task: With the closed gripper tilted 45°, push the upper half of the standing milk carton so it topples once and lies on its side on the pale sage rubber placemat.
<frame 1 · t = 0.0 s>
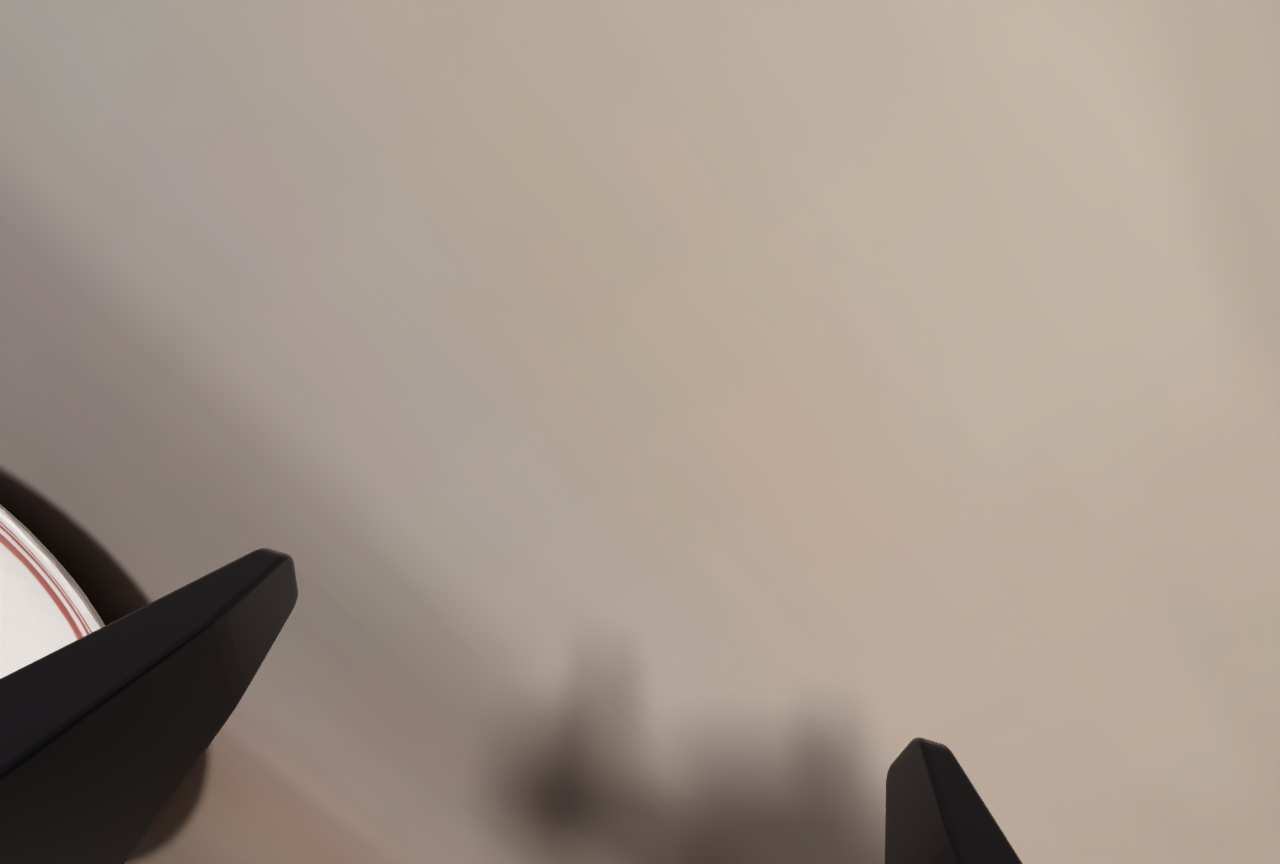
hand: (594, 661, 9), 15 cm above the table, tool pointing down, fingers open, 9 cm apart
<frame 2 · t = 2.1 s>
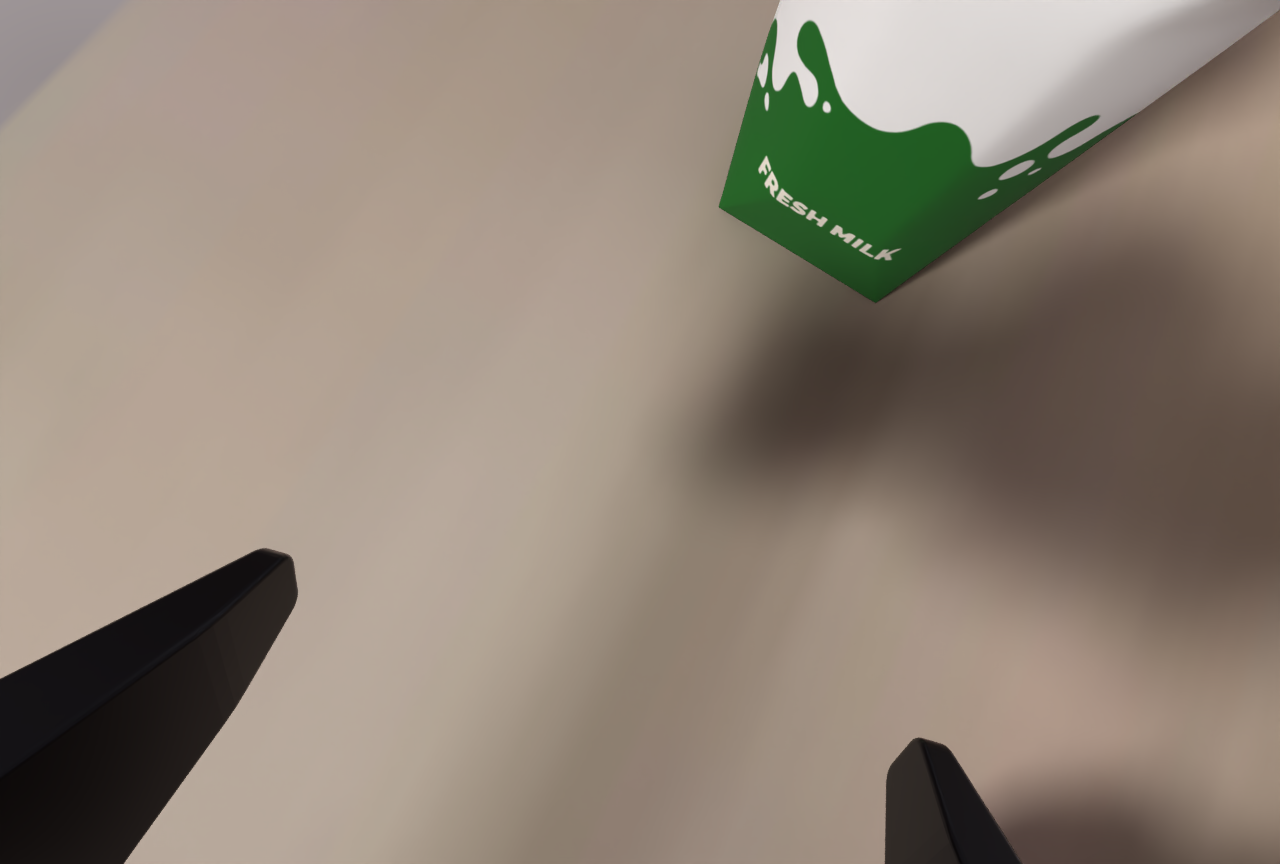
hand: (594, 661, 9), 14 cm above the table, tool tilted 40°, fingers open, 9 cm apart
milk carton: (838, 184, 25), on the table
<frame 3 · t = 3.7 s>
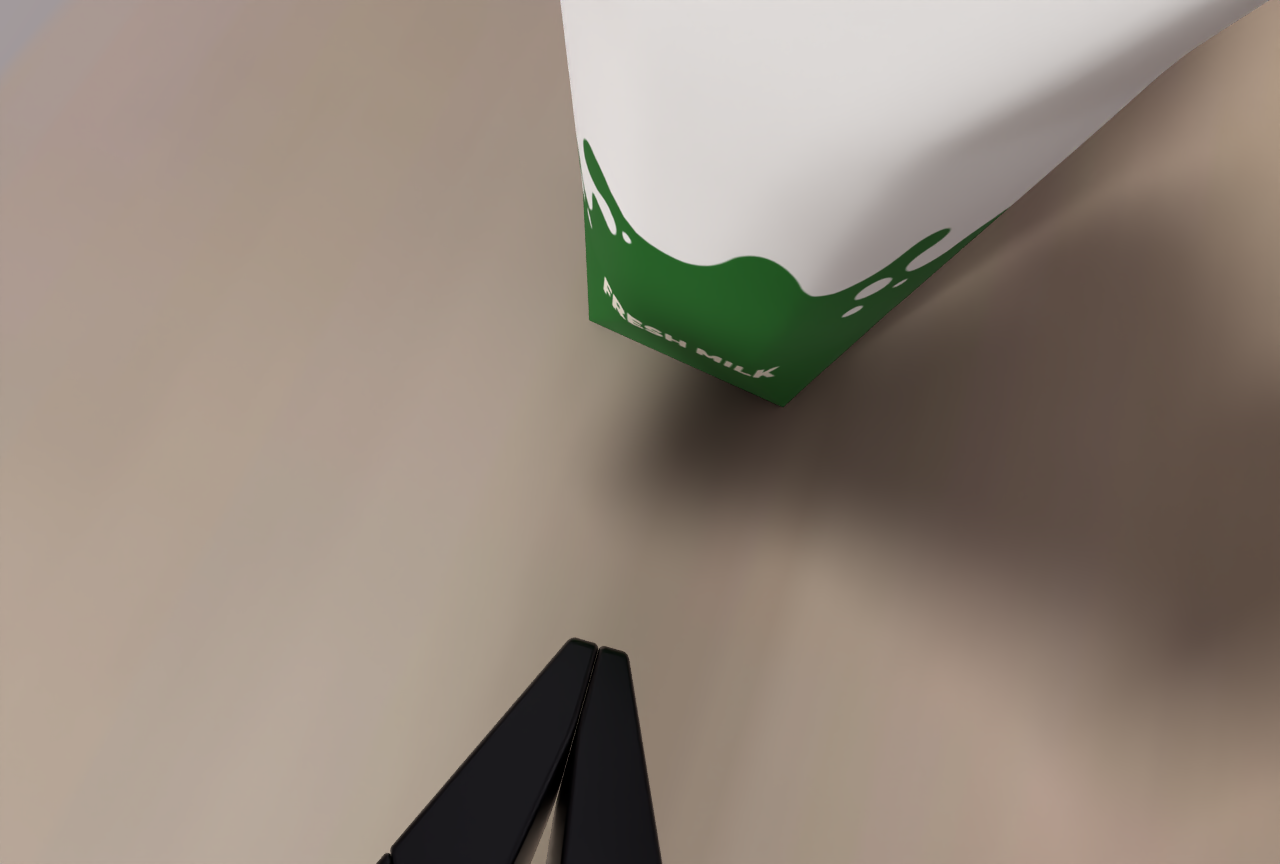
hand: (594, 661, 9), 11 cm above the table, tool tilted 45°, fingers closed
milk carton: (725, 275, 22), on the table
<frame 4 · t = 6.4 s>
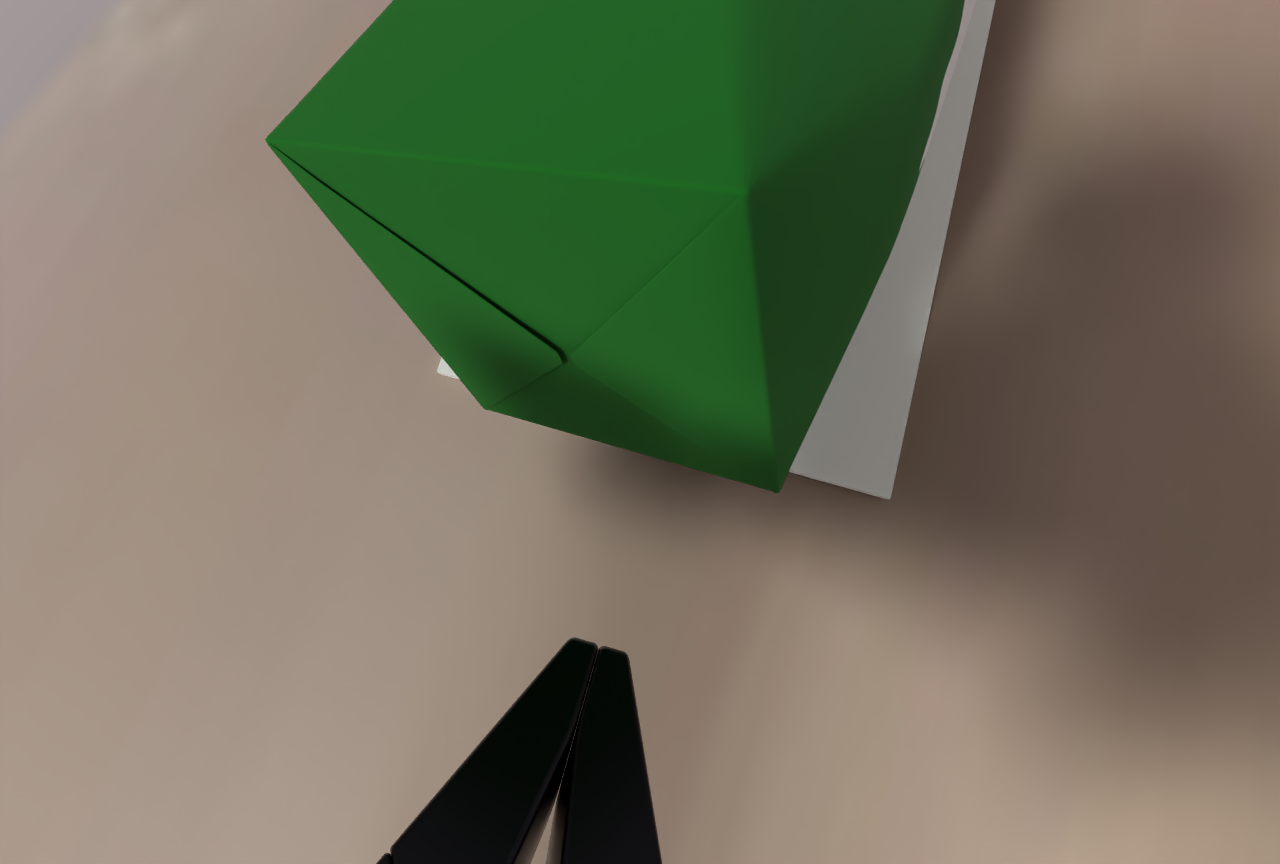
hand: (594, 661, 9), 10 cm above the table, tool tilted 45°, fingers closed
placemat: (734, 174, 21), on the table
milk carton: (552, 354, 10), point 9 cm above the table, touching placemat
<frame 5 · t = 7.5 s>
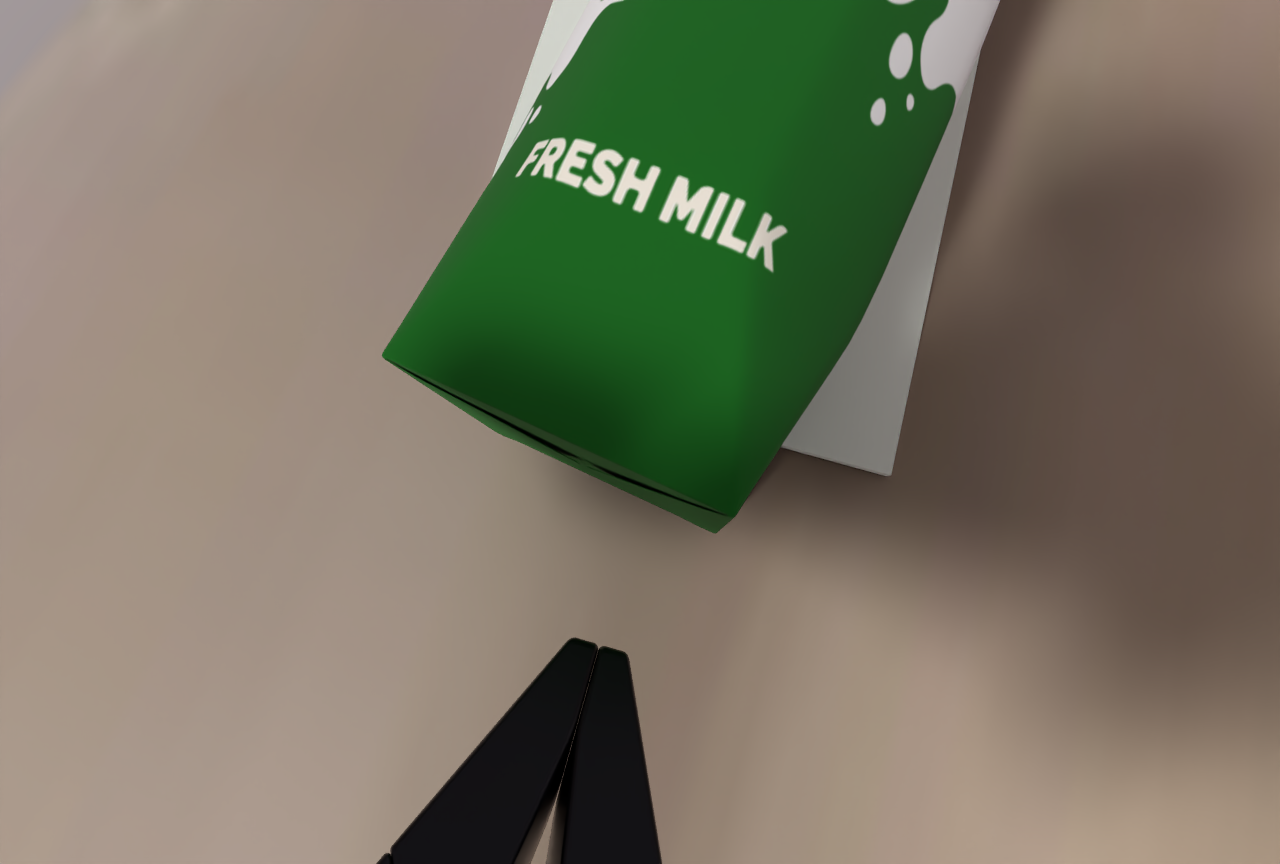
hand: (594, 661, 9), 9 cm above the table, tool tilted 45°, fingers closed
placemat: (732, 150, 21), on the table
milk carton: (576, 472, 15), point 4 cm above the table, touching placemat
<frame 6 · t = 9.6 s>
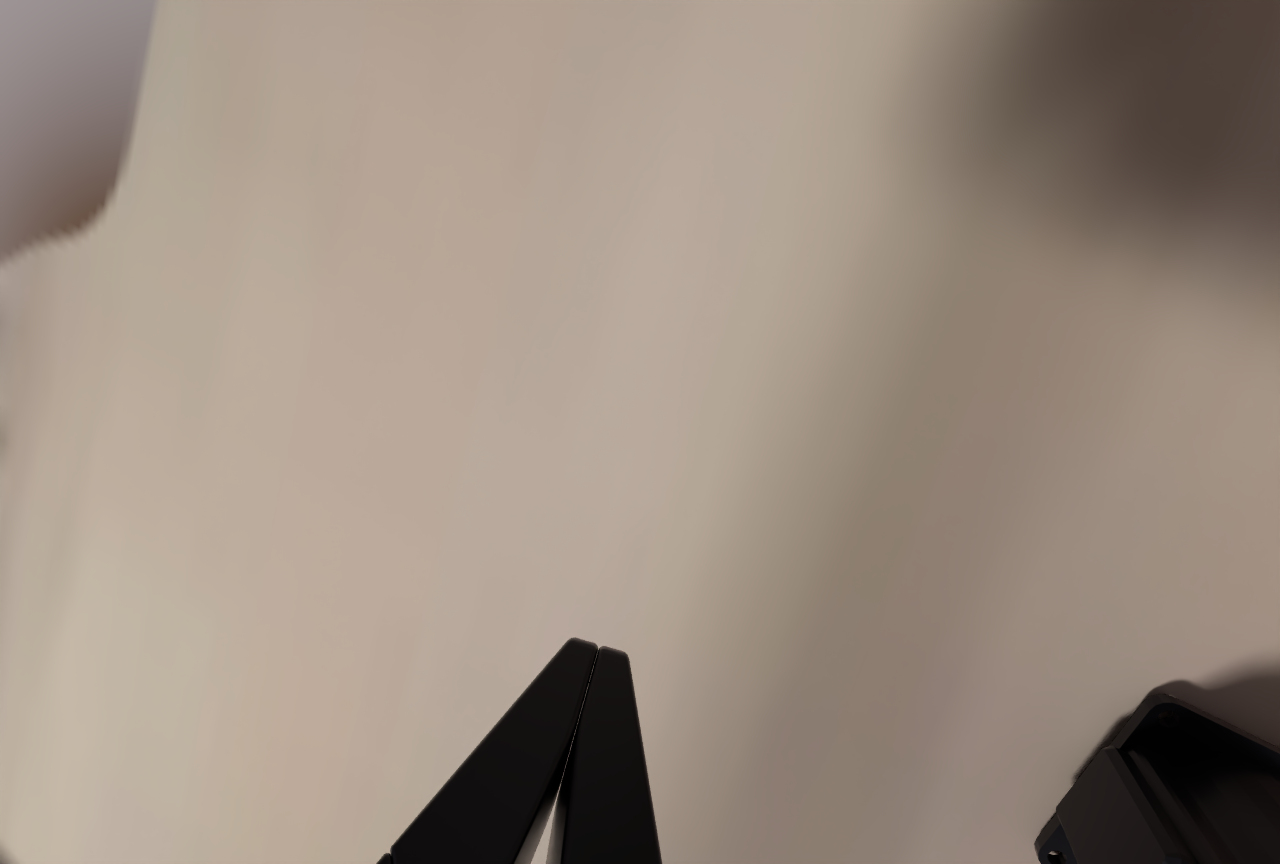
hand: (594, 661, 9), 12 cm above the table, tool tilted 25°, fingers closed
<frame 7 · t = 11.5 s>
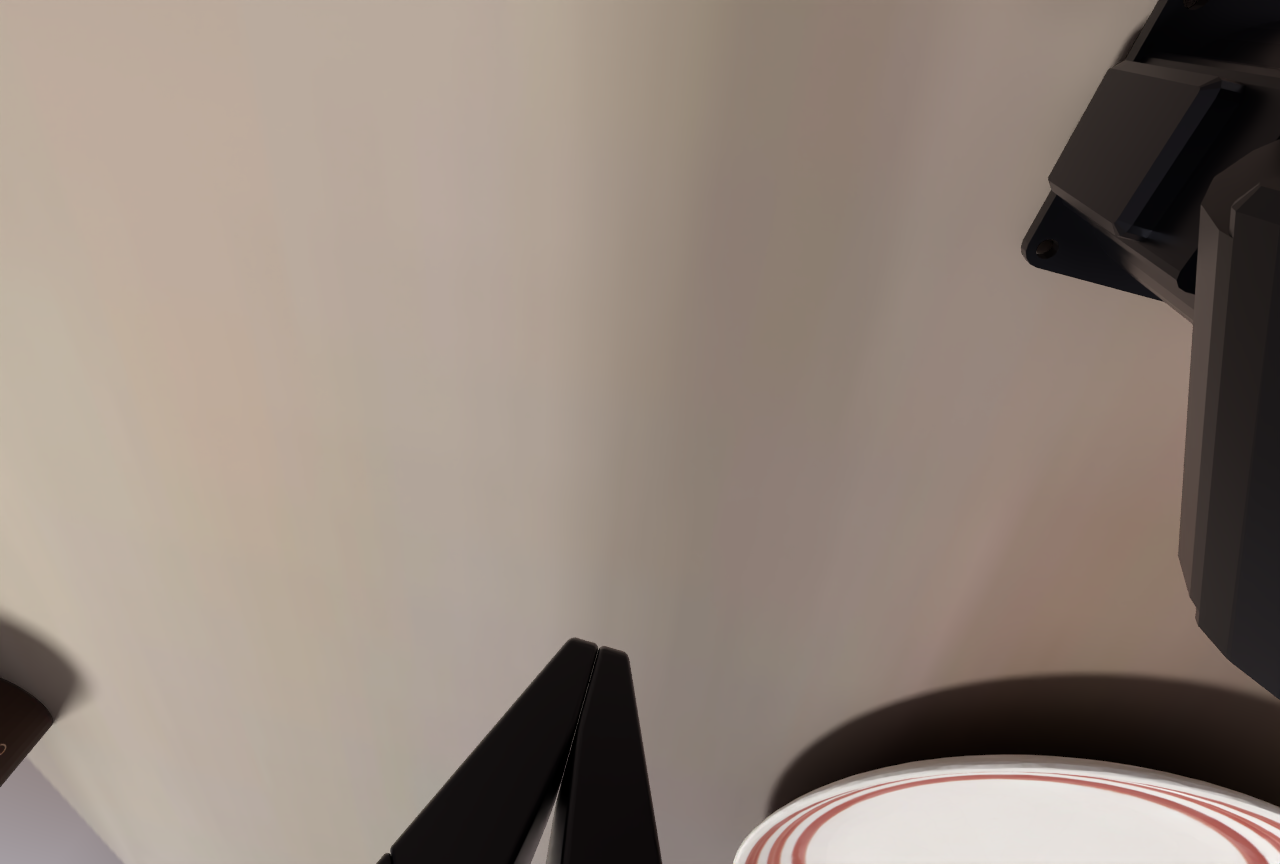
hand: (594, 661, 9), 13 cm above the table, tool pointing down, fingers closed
dinner plate: (1000, 852, 34), on the table
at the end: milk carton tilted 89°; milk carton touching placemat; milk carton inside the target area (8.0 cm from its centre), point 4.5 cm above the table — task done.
